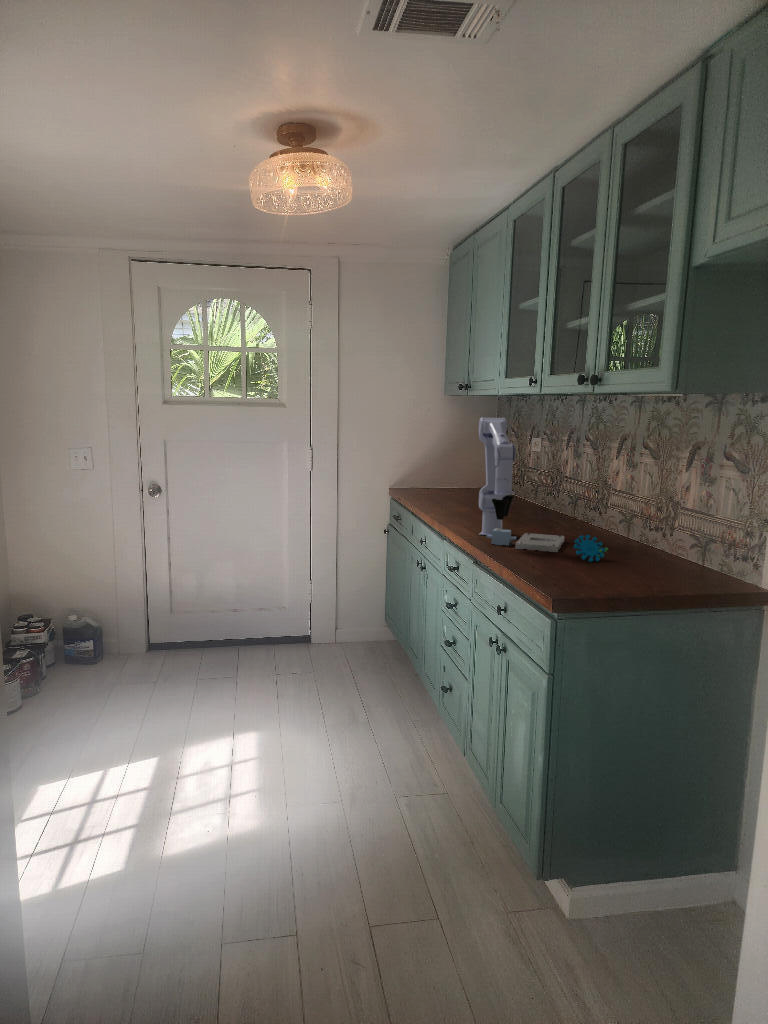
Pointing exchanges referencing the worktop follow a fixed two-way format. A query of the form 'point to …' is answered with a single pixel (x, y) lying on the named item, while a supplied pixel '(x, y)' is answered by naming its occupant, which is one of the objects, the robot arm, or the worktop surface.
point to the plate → (540, 542)
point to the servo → (501, 537)
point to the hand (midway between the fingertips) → (502, 517)
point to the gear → (589, 548)
